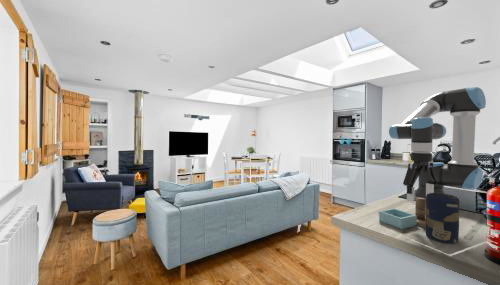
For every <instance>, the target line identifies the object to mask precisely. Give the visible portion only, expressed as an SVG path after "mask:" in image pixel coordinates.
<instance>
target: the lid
mask: <svg viewBox="0 0 500 285" xmlns="http://www.w3.org/2000/svg"><path fill="white" fill-rule="evenodd" d="M411 214H414V215H417V225H418V227H420V226H421V227H420V228H423V227H424V229H426V199H425V198H419V197H416V200H415V212H411Z"/></svg>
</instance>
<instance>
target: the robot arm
mask: <svg viewBox="0 0 500 285" xmlns="http://www.w3.org/2000/svg"><path fill="white" fill-rule="evenodd" d="M486 102H487V101H486V95H485V93H484V91H483V89H481V88H480V87H478V86H475V87H474V86H473V87H465V88H459V89H451V90H445V91H441V92H437V93H436V94H435V93H434V94H433V95H431V96H429V97H427V98H426V99H424V100H423V101H422V102H421V103H420V105H419V107H418V108H417V109H416V110H414V111H413V112H412V113H411V114H409V115H408V117H407V118H405V119H404V120H403V121H402V122H400V123H399V124H392V125H391V126H390V127H389V128H388V135H389V137H390V138H391V139H394V140H395V139H396V140H411V141H410V143H411V144H410V152H411V153H410V160H411V161H412V162H413V163H410V162H409V163H408V164H407V171H406V173H405V176H404V179H403V182H402V184H403V186H405V187H406V202H407V201H408V202H412V203H415V201H416V197H419V198H425V199H426V195H427V194H429V193H436V192H441V193H444V194H446V192H445V190H444V189H445V187H450V188H456V189H457V188H458V189H463V190H471V191H474V190H477V188H479V187H480V185H481V183H482V181H483V176H484V173H483V169H482V168H479V167H478V166H479V165H478V163H477V162H475V159H474V158H475V141H476V140H475V139H476V121H477V120H476V119H477V115H479V114H480V113H481V110H482V109H485V107H486V104H487V103H486ZM445 112H449V115H451V117H453V121H452V123H453V124H452V144H451V145H452V146H451V160H450V161H448V162H447V165H445V163H444V162H441V161H440V162H437V161H436V162H432V161H433V154H432V152H433V140H439V139H442V138H443V137H445V135H447V128H446V127H445V126H444V125H443V124H442V123H438V122H434V119H433V118H432V116H434V115H437V114H438V113H445ZM417 180H418V186H417V189H416V188H415V186H414V185H415V183H416V182H417ZM415 189H416V191H415Z"/></svg>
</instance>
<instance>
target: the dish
mask: <svg viewBox="0 0 500 285" xmlns="http://www.w3.org/2000/svg"><path fill="white" fill-rule="evenodd" d="M411 213H412V212H411ZM411 213H410V212H407V211H403V210H400V209H397V208H388V209H384V210H379V211H378V219H379V220H378V221H379V222H381V223H384V224H386V225H389V226H392V227H394V228H397V229H399V230H405V229H408V228H412V227H413V228H414V227H416V226H417V215H414V214H411Z"/></svg>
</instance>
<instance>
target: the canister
mask: <svg viewBox="0 0 500 285" xmlns="http://www.w3.org/2000/svg"><path fill="white" fill-rule="evenodd" d="M424 232H425V235H426V237H428V238H429V239H430V240H433V241H435V242H439V243H442V244H443V243H444V244H456V243H458V242H459V235H460V199H459V198H458V196H455V195H452V194H448V193H445V194H444V193H441V192H436V193H429V194H427V195H426V228H425V229H424Z"/></svg>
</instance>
